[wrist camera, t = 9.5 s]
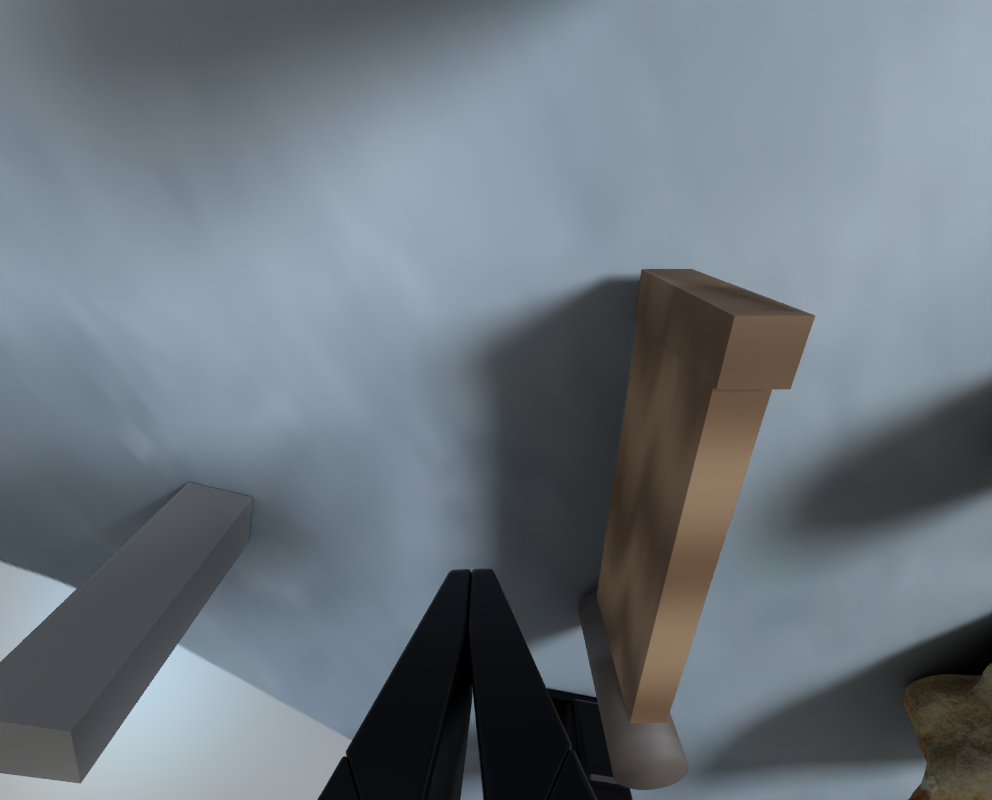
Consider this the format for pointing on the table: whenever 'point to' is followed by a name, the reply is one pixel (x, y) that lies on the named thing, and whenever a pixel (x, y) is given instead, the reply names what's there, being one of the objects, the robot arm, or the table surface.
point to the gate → (677, 497)
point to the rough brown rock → (953, 735)
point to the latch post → (115, 635)
